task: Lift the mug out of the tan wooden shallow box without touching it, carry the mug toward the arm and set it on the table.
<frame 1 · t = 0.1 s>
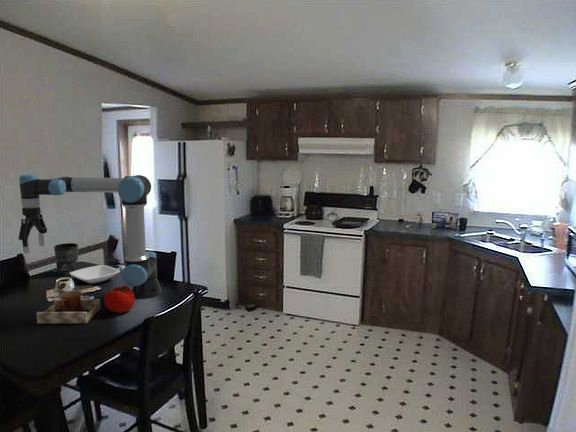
hand: (34, 249, 199), 28 cm above the table, fingers open, 13 cm apart
tomato: (120, 310, 197), on the table
tan wooden shallow box: (70, 315, 190), on the table
bowl: (95, 281, 238), on the table
mug: (70, 316, 190), resting in tan wooden shallow box
planter: (68, 273, 250), on the table
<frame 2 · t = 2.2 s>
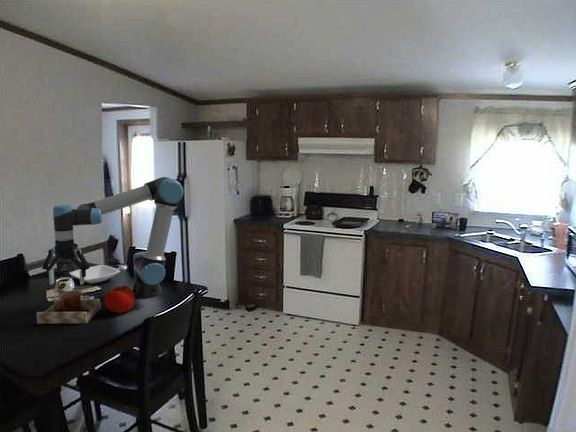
hand: (67, 283, 187), 16 cm above the table, fingers open, 13 cm apart
nothing on the table moved.
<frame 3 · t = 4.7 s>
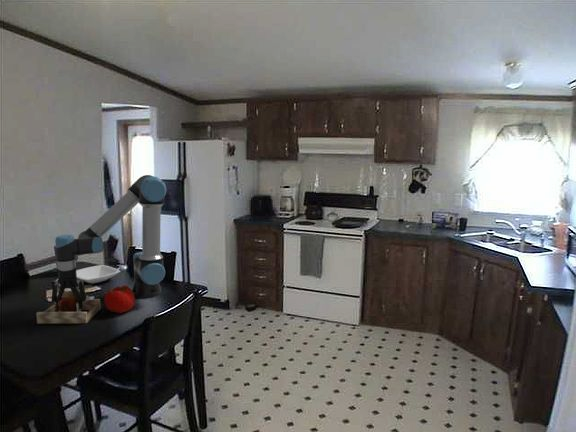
hand: (70, 315, 190), 0 cm above the table, fingers closed on mug, 7 cm apart
mug: (69, 316, 190), resting in tan wooden shallow box, touching gripper
everything else where it was.
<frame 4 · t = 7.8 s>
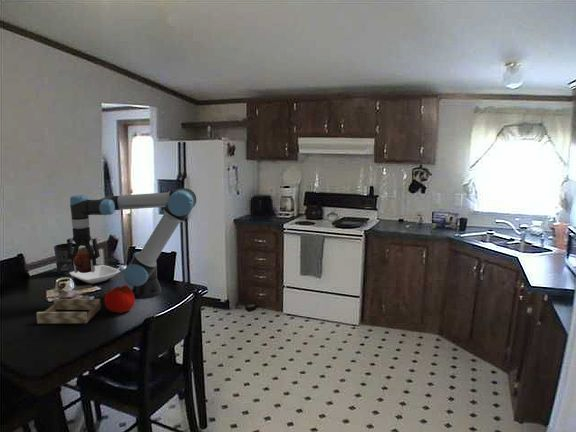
hand: (84, 271, 202), 17 cm above the table, fingers closed on mug, 7 cm apart
mug: (84, 272, 202), point 16 cm above the table, touching gripper
everything else where it was.
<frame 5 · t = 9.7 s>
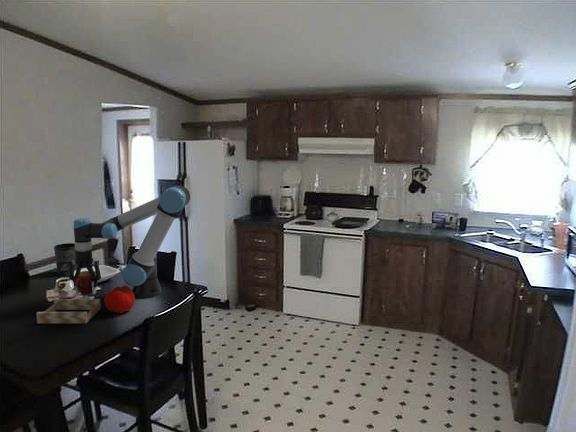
hand: (86, 293, 205), 5 cm above the table, fingers closed on mug, 7 cm apart
mug: (85, 293, 205), point 5 cm above the table, touching gripper
everything else where it was.
when the fingers open (2 cm above the table, at t = 11.1 s): mug drops 1 cm, on the table.
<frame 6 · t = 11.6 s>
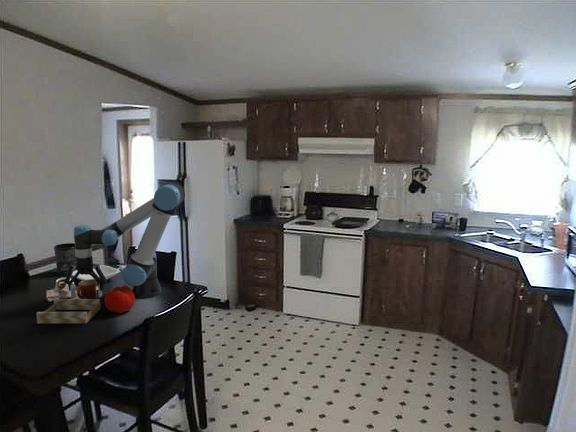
hand: (86, 296, 205), 3 cm above the table, fingers open, 13 cm apart
mug: (87, 302, 206), on the table
everything else where it was.
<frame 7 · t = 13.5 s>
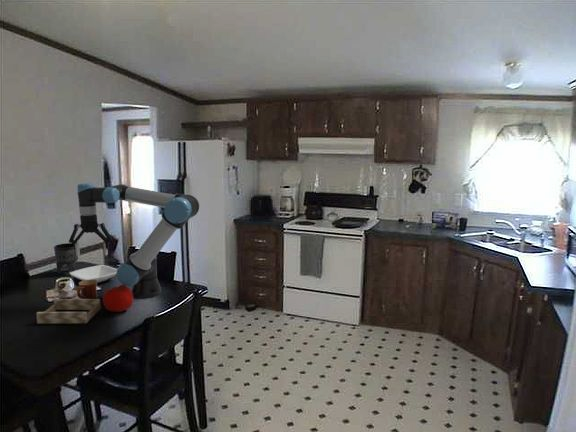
hand: (92, 255, 205), 24 cm above the table, fingers open, 13 cm apart
tomato: (120, 310, 197), on the table, touching arm
everything else where it was.
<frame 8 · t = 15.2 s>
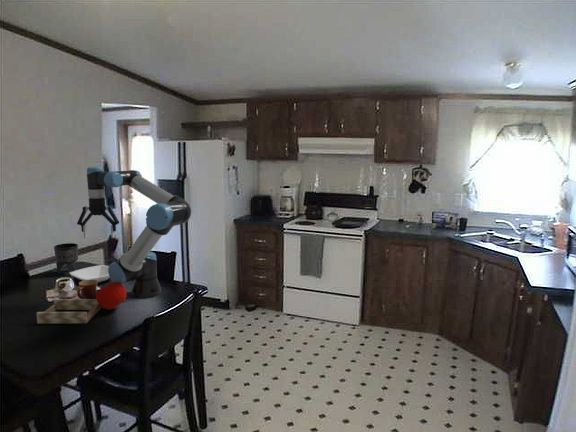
hand: (99, 237, 210), 32 cm above the table, fingers open, 13 cm apart
tomato: (119, 305, 197), point 2 cm above the table, touching arm, tan wooden shallow box
everything else where it was.
at the end: mug inside the target area (0.1 cm from its centre), on the table; mug tilted 0°; mug touching table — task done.
